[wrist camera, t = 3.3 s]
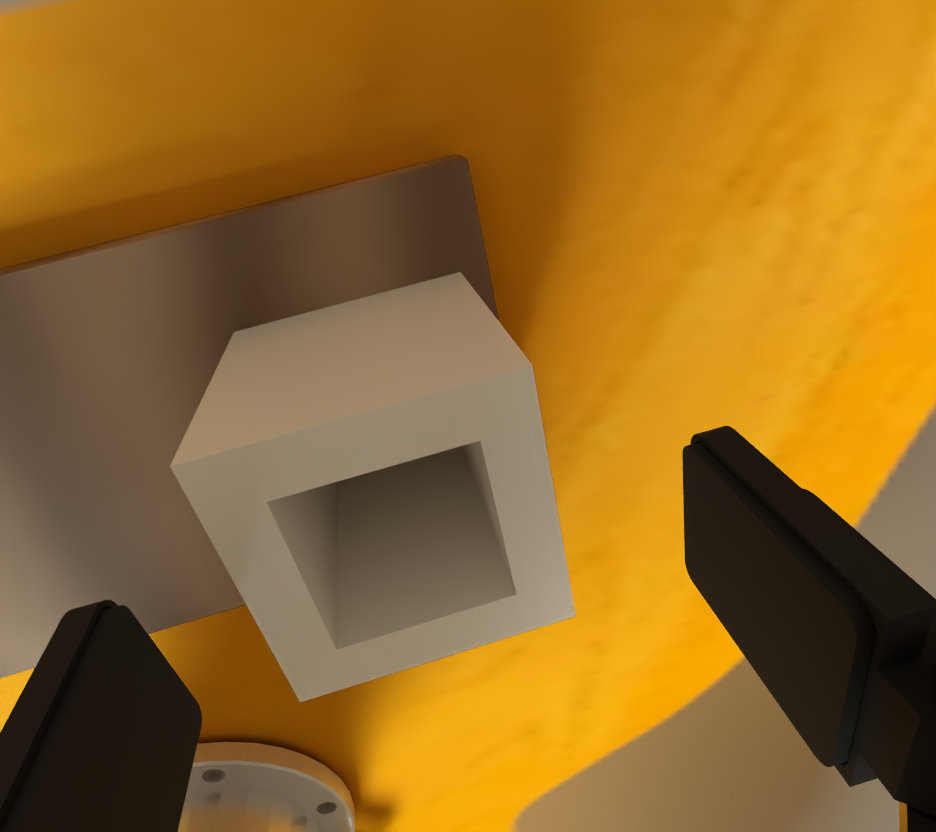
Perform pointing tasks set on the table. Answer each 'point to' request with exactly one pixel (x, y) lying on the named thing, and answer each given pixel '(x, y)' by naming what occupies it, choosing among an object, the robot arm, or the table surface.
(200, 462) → the cream housing
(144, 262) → the walnut board
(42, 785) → the robot arm
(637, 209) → the table surface
